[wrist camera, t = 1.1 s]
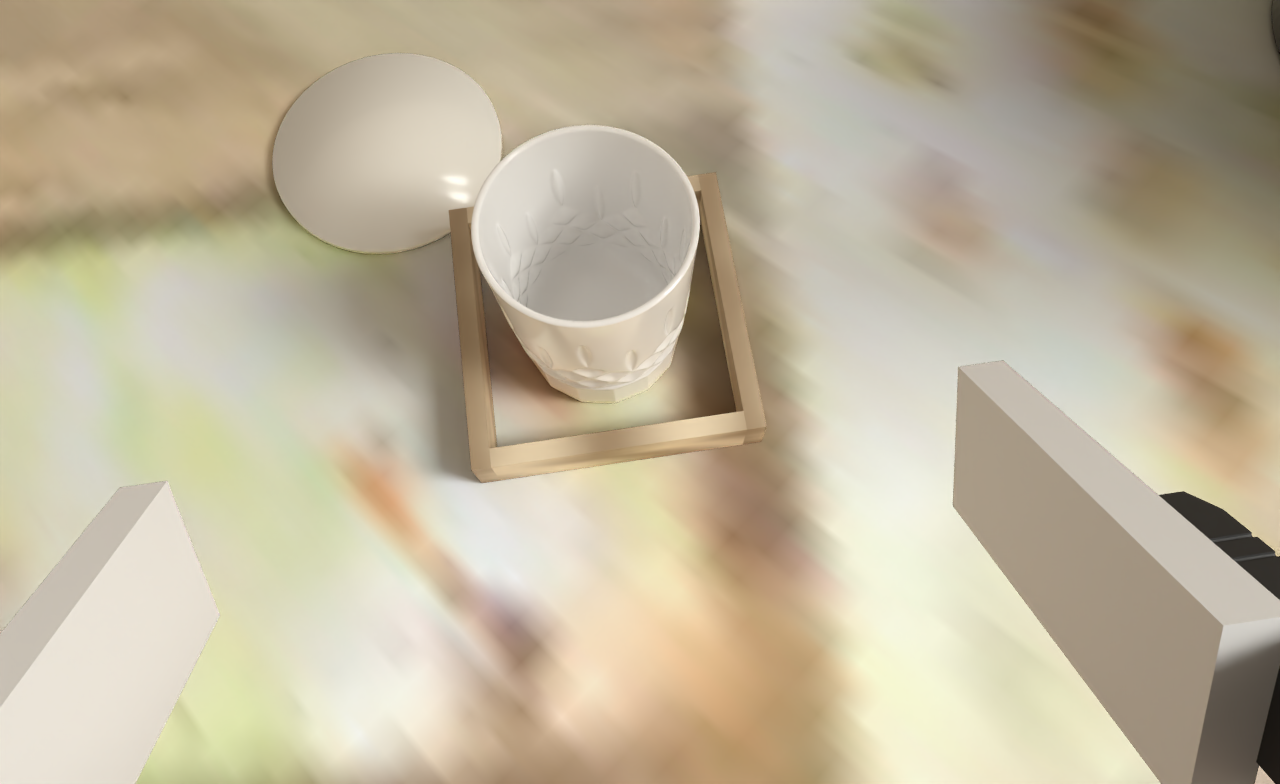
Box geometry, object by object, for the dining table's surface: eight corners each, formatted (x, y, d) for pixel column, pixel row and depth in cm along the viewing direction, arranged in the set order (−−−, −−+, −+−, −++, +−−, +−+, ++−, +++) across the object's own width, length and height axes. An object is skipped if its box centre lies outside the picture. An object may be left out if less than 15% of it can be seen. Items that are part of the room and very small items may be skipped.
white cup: (482, 316, 41) (427, 201, 32) (623, 224, 43) (611, 86, 33) (581, 453, 39) (554, 371, 30) (727, 350, 40) (746, 242, 31)
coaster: (491, 44, 46) (490, 39, 46) (513, 236, 43) (512, 231, 42) (274, 74, 46) (270, 69, 45) (277, 269, 42) (273, 265, 42)
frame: (713, 198, 43) (715, 172, 41) (761, 441, 39) (766, 426, 37) (459, 234, 43) (448, 210, 41) (481, 483, 39) (471, 470, 37)
